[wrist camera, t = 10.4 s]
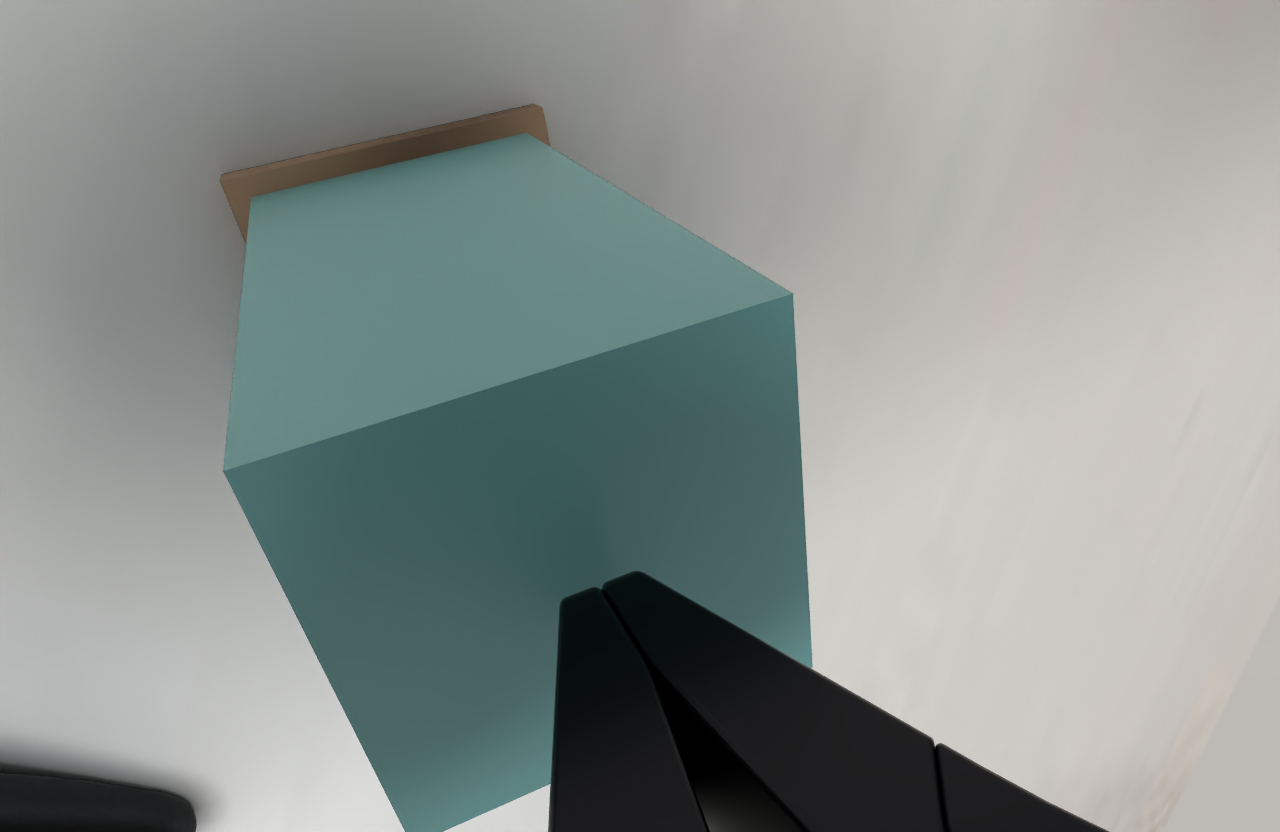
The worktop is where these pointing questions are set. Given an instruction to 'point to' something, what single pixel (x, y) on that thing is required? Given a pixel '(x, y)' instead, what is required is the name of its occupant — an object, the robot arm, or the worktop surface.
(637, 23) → the worktop surface
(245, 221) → the brown pedestal
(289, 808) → the worktop surface
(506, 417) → the teal rectangular block
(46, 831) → the can opener
